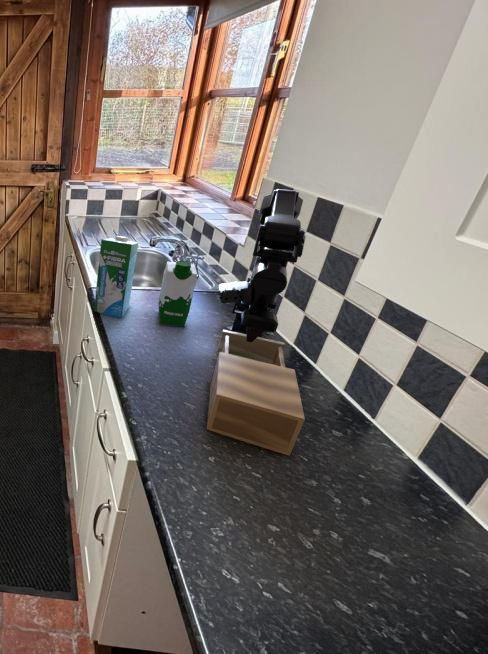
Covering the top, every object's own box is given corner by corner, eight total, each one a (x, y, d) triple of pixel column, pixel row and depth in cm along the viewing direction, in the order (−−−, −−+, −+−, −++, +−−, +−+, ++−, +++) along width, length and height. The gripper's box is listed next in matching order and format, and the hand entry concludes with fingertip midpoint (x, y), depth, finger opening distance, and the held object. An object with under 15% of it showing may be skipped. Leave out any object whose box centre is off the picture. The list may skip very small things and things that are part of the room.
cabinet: (210, 384, 99) (219, 351, 95) (282, 403, 92) (294, 369, 88) (206, 429, 86) (216, 394, 82) (289, 456, 79) (305, 419, 75)
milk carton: (129, 306, 134) (139, 235, 124) (121, 318, 128) (131, 244, 117) (102, 300, 139) (110, 230, 128) (93, 311, 132) (101, 239, 121)
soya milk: (156, 324, 124) (167, 265, 115) (155, 310, 131) (165, 253, 123) (187, 329, 121) (201, 268, 113) (185, 315, 129) (197, 256, 120)
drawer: (216, 351, 109) (222, 327, 106) (275, 365, 103) (284, 340, 100) (213, 388, 96) (221, 361, 93) (281, 406, 90) (291, 378, 87)
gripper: (226, 257, 100) (212, 311, 107) (224, 286, 85) (208, 348, 92) (279, 265, 95) (262, 322, 102) (287, 297, 80) (266, 362, 87)
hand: (248, 337), depth 96 cm, fingers open, 4 cm apart
